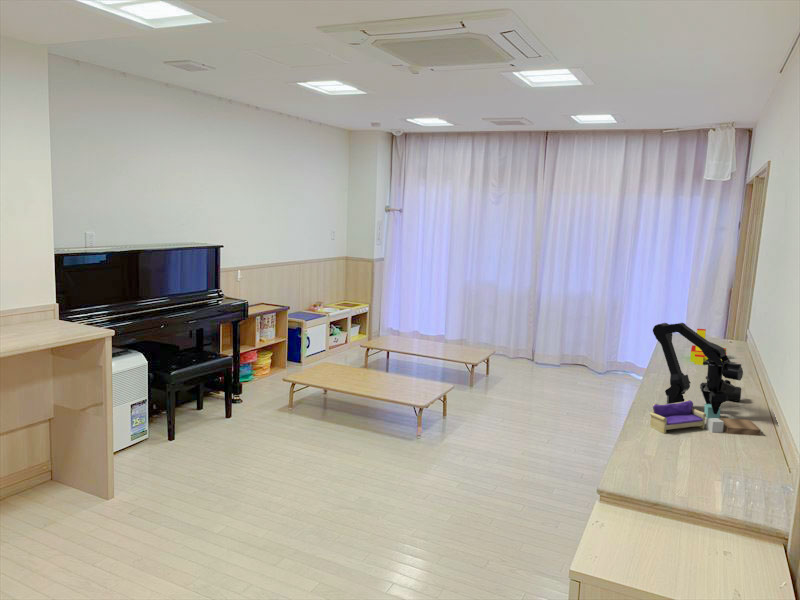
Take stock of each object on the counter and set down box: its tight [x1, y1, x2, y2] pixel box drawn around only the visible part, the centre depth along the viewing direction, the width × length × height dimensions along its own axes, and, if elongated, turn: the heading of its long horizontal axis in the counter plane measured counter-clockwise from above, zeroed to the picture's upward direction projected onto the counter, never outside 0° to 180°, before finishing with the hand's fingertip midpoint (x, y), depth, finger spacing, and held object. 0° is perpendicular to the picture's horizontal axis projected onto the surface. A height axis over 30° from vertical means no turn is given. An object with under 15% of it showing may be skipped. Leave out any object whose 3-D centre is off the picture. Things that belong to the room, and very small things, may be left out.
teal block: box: [703, 403, 721, 419], centre depth 265 cm, size 5×5×5 cm
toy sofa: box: [649, 399, 707, 434], centre depth 251 cm, size 21×9×10 cm, turn 106°
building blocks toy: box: [689, 328, 727, 366], centre depth 366 cm, size 19×25×18 cm
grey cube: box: [705, 417, 724, 433], centre depth 249 cm, size 4×4×4 cm
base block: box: [719, 417, 761, 437], centre depth 250 cm, size 12×12×3 cm
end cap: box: [719, 386, 742, 403], centre depth 289 cm, size 10×7×7 cm
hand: (712, 410), depth 265 cm, fingers open, 9 cm apart
